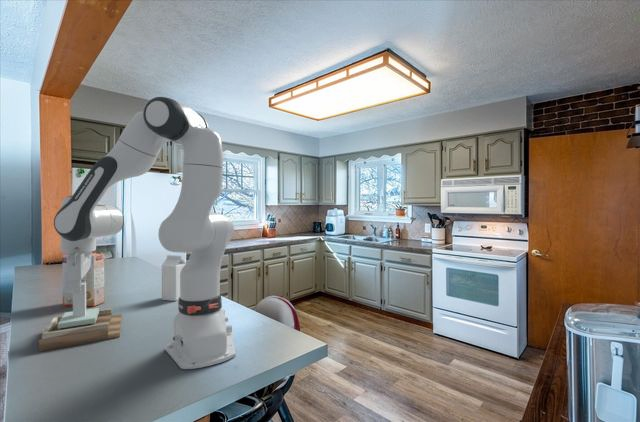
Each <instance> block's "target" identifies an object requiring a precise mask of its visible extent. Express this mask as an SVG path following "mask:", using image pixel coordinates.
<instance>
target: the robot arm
mask: <svg viewBox="0 0 640 422" xmlns="http://www.w3.org/2000/svg"><path fill="white" fill-rule="evenodd" d="M167 142H174V143H175V144H180V145H181V147H182V149H183V160H182V176H181V177H182V178H181V189H180V193H179V196H178V198H177V202H176V204H175V205H174V208H173V210H172V212H171V213H170V214H169V215H168V216H167V217H166V218H165V219H163V221H162V222H161V223H160V225H159V229H158V236H157V237H158V239H159V243H160V244H161V246H162V248H164V250H166V251H169V252H170V253H171V252H172V253H181V254H187V253H190V256H189V258H188V260H187V262H185V263H186V264H185V266H184V267H183V268H182V270H181V272H180V297H179V300H178V302H177V307H178V313H177V315H175V316H174V317H173V319H172V335H171V336H172V337H171V339H172V340H171V342H169V343H168V344H166V345H165V347H164V348H165V351H166V353H168V355H169V356H170V357H171V358H172V360H173V361H174V362H175V363H176V364H177V365H178V367H179V368H180V369H182V370H193V369H200V368H206V367H209V366H213V365H217V364H220V363H223V362H226V361H228V360H231V359H232V358H234V357H235V356H236V350H235V349H236V347H235V343H234V337H233V326H232V325H233V324H226V323H227V322H229V317H228V316H226V311H225V309H224V308H223V307H222V306H223V305H222V303H223V302H222V301H223V299H222V294H221V293H220V287H221V285H220V284H221V283H220V282H221V281H220V280H221V278H220V277H221V267H222V262H223V259H224V254H225V251H226V247H228V244H229V242H230V241H231V240H232V238H233V236H234V234H235V224H234V222H233V220H232V219H231V218H230V217H229V216H227V215H225V214H222V213H217V212H211V210H212V208H213V205H214V203H215V201H216V200H217V199H219V197H220V196H221V194H222V191H223V173H224V172H223V171H224V154H223V153H224V152H223V145H222V144H223V143H222V138H221V136H220V135H219V133H218V132H216V131H215V130H213V129H210V126H209V123H208V122H207V120H206V119H205V117H204V116H203V115H201V114H200V113H198V112H196V111H194V110H193V109H192V108H190V107H189V106H188V105H185V104H183V103H181V102H179V101H176V100H175V99H173V98H171V97H165V96H156V97H153V98H151V99H150V100H149V101H148V102H147V103H146V104H145V106H144V108H143V111H142V110H141V111H139V112H136V113H135V114H134V115H133V116H132V117H131V119H130V120H129V122H128V123H126V125H125V126H124V129H123V130H122V132H121V134H120V136H119V138H118V139H117V141H116V143H115V145H114V146H113V147H112V149H110V150H109V152H108V153H107V154H106V155H105V156H103V157H101V158H100V159H99V160H97V161H96V162H95V164H94V165H93V166H92V167H91V168H90V170H89V171H88V172H87V174H86V175H85V177H84V178H83V180H82V182H80V184H79V186H78V187H77V189H76V190H75V191H74V193H73V195H69V196H66V197H64V198H63V200H62V202H61V206H60V209H59V210H58V211H57V212H56V214H55V215H54V218H53V219H54V220H53V227H54V229H55V231H56V232H57V234H58V235H59V236H60V253H62V254H65V255H66V258H67V266H66V278H67V281H72V286H73V293H74V294H78V293H80V292H81V283H85V282H86V273H87V272H88V270H89V269H90V266H91V258H92V254H93V252H95V251H96V250H97V238H100V237H107V236H112V235H115V234H116V235H117V234H118V233H119V232H120V231H121V230H122V228H123V227H124V225H125V216H124V214H123V212H122V210H121V209H119V207H117V206H112V205H109V204H106V203H103V202H101V199H102V198H103V196H104V195H105V193H106V192H107V191H108V189H110V188H111V187H112V186H113V185H115V184H117V183H119V182H121V181H124V180H127V179H130V178H135V177H140V176H143V175H144V174H146V173H148V172H149V171H150V170H151V168H152V167H153V166H154V164H155V162H156V160H157V159H158V157H159V155H160V153H161V150H162V148H163V147H164V145H165V144H166V143H167Z"/></svg>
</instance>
